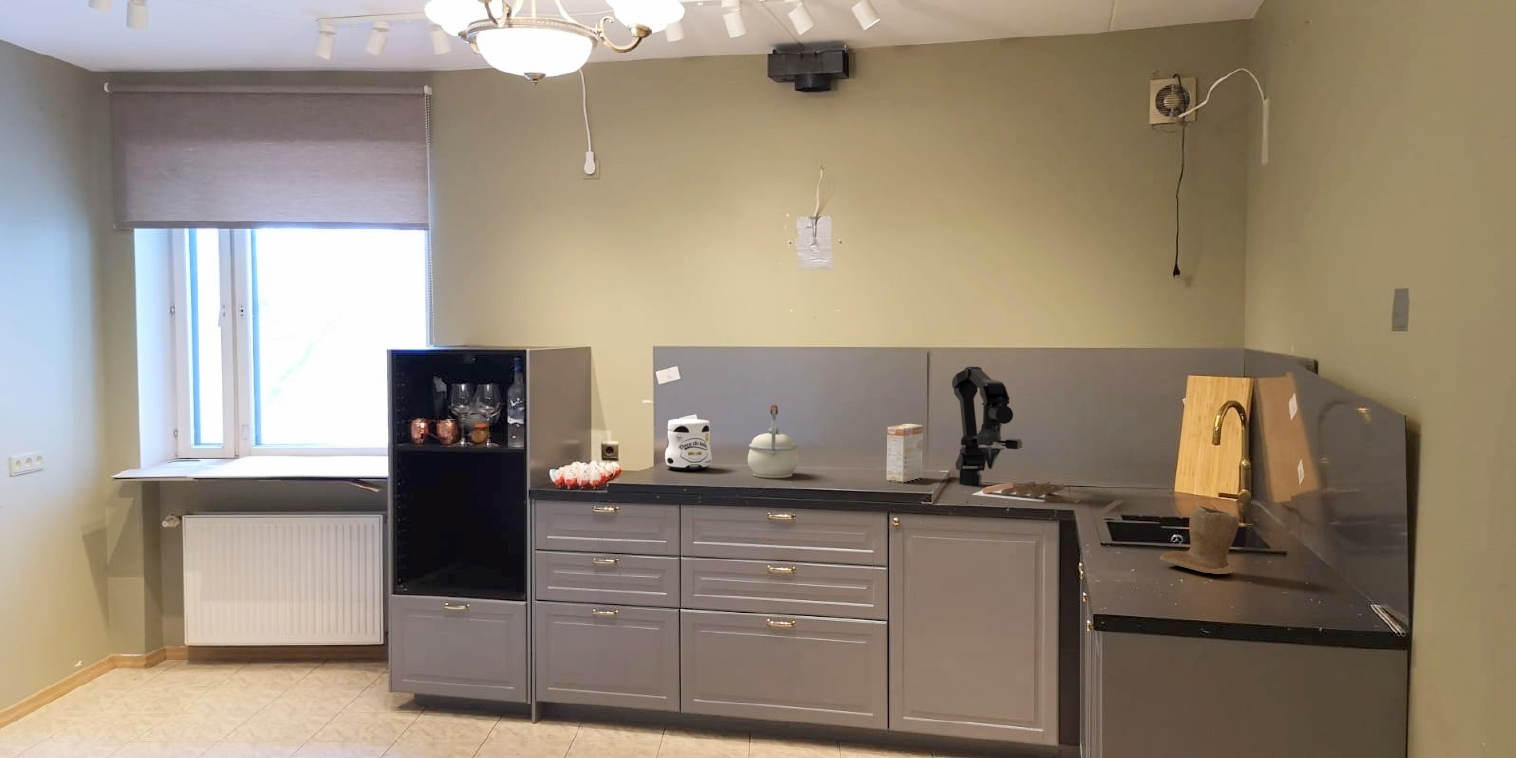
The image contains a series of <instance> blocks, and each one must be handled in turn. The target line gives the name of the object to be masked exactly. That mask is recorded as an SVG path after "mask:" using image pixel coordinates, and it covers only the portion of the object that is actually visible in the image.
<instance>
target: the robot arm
mask: <svg viewBox="0 0 1516 758" xmlns="http://www.w3.org/2000/svg"><path fill="white" fill-rule="evenodd" d="M951 387H952V389H953V392H954V393H953V394H954V395H955V397H956V399H958V401H959V406H960V416H961V424H962V426H961V427H962V437H961V438H960V446H961V447H960V449H959V455H958V457H957V459H956V461H955V469H956V470H958V471H959V485H961V486H967V487H980V486H982V477H983V476H982V474H981V471H983V472H984V471H985V468H986V464H987V467H988V469H989V470H992V469H993V467H994V465H995V462H996V460H997V458H998V455H999V454H1000V453H1001V451H1003V450H1005V449H1009V450H1019V449H1022V448H1023V442H1022V441H1023V440H1022V439H1020V438H1006V439H1003V440H1002V435H1001V430H1002V429H1001V428H1002V426H1003V425H1006V424H1009V423H1010V422H1011V421H1012V420H1013V418H1014V413H1013V410H1012V408H1011V407H1010V406H1008V405H1009V404H1010V396H1009V393H1008V390H1007V388H1006V386H1005V384H1004V383H1003V382H1002V381H1000V380H994V379H991V377H989V376H988V374H986V372H985V371H983V369H982V367H980V366H966V367H965V368H964V370H961V371H960V372H958V373H956V374H955V375H954V377H953V378H952V381H951ZM978 390H979V396H980V397H981V399H982V401H983V402H982V403H981V405H982V407H983V409H982V424H981V427H980V430H979V431H978V428H977V418H976V409H975V398H976V395H977V393H978Z"/></svg>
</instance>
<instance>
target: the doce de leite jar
mask: <svg viewBox="0 0 1516 758" xmlns="http://www.w3.org/2000/svg"><path fill="white" fill-rule="evenodd" d="M710 430H711V424H710V420H707V419H698V418H697V419H695V418H694V419H693V418H678V419H670V420H668V423H667V447H666V449H665V454H664V459H665V465H666V466H667V467H668V468H670V469H673V470H676V471H677V470H679V471H699V470H705V469H707V468H709V467H710V466H711V464H712V459H713V453H712V449H711V444H710V437H711V432H710Z"/></svg>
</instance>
